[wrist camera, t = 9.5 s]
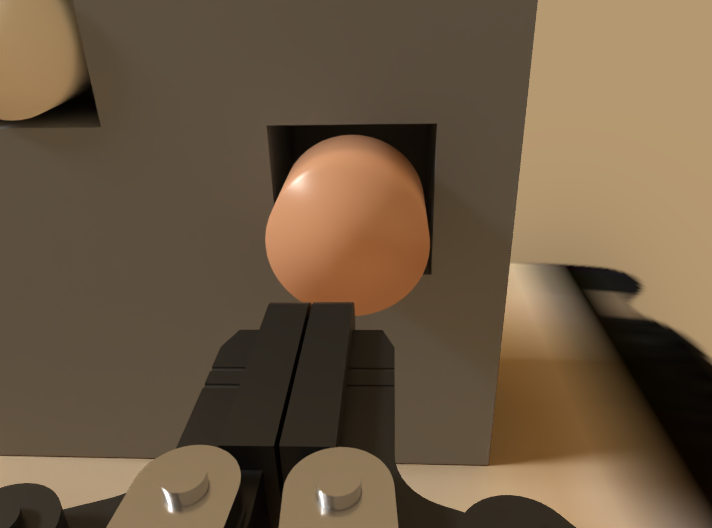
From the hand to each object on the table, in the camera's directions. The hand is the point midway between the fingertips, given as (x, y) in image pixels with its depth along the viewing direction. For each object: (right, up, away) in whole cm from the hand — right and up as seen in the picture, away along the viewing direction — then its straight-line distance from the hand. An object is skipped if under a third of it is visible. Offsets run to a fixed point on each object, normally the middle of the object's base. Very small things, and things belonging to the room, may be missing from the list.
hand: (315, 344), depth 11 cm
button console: (-4, -5, +16) cm, 17 cm away
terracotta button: (+1, +1, +9) cm, 9 cm away
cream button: (-9, +7, +9) cm, 15 cm away
